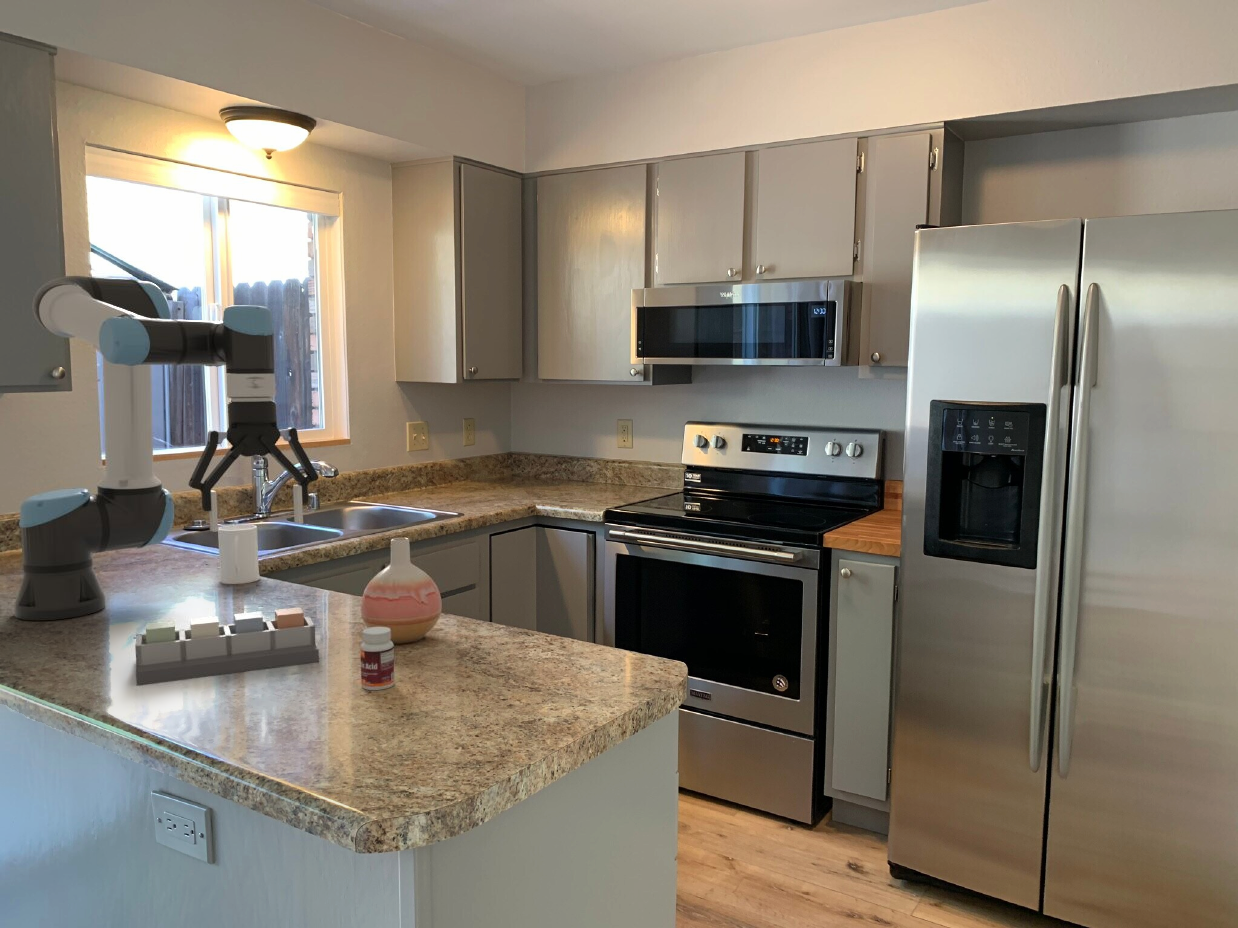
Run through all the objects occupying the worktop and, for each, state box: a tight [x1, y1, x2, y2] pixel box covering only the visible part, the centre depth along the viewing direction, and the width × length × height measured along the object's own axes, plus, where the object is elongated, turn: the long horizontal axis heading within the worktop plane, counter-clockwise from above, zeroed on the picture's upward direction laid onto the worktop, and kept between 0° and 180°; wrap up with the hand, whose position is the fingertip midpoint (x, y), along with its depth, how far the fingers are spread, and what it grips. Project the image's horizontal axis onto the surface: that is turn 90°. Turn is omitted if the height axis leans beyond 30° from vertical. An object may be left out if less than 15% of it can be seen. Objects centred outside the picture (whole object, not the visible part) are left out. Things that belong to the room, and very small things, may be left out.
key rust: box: [274, 607, 305, 629], centre depth 154 cm, size 4×4×3 cm
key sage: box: [145, 620, 176, 644], centre depth 146 cm, size 4×4×3 cm
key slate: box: [233, 611, 264, 634], centre depth 151 cm, size 4×4×3 cm
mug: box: [217, 524, 261, 585], centre depth 208 cm, size 12×8×12 cm
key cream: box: [189, 615, 220, 639], centre depth 148 cm, size 4×4×3 cm
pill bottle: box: [359, 627, 395, 691], centre depth 138 cm, size 5×5×8 cm
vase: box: [360, 537, 443, 645], centre depth 162 cm, size 14×14×18 cm
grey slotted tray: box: [134, 615, 320, 686], centre depth 150 cm, size 26×14×5 cm, turn 116°
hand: (257, 526), depth 157 cm, fingers open, 13 cm apart
